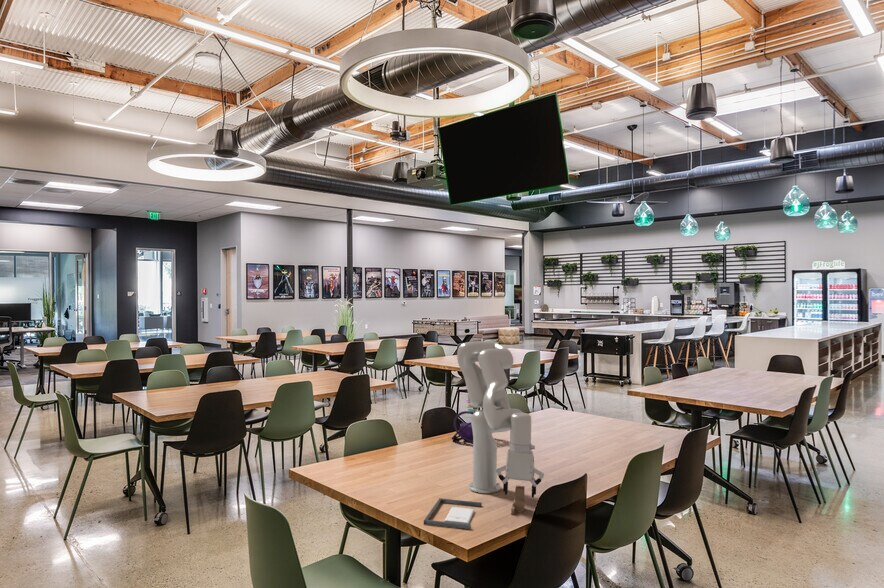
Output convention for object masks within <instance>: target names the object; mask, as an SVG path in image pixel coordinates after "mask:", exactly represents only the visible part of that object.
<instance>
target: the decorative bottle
mask: <svg viewBox="0 0 884 588" xmlns="http://www.w3.org/2000/svg"><path fill="white" fill-rule="evenodd" d="M467 398H468V400H466V403H467V404H466V409H465V410H466V411H465V410H464V411H460V412H459V413H457V414H456V415H455V417H454V419H453V428H454V430H455V432H456V433H455V434H453V436H452V437H451V440H452V441H453V440H456V439H458V438H461V439H462V440H463V441H464V440H466V441H465V442H467V441H468V443H472V444H473V430H472V424H471V421H469V422H461V423H460V426H459V429H458V428H457V420H458V418H459V417H460V416H462V415H464V414H471V415H473V414H474V413H475V412H476V411H477V410H476V409H473V408H475V407H474V406H472V404H471V402H470V399H469V395H468V394H467ZM462 419H464V418H462ZM455 438H456V439H455Z"/></svg>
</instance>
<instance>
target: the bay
mask: <svg viewBox="0 0 884 588" xmlns="http://www.w3.org/2000/svg"><path fill="white" fill-rule="evenodd" d="M441 502H442V503H441ZM449 503H453V504H452V505H459V504H462V505H461V506H468V505H469V506H471V507H480V508H481V507H482V505H483V504H482V502H481V501H480V502H478V501H469V500H460V499H452V498H451V499H449V498H438V500H437V501H436V502H435V504H434V505H433V506H432V508H431V510H430V511H429V513H428V514H427V515H426V517H425V518H424V520H423V525H426V524H428V525H427V526H429V525H430V526H435V525H437V526H436V527H443V526H447V527H446V528H452V527H456V528H455V529H460V528H467V529H466V530H469V529H472V524H470V523H469V524H460V523H451V522H444V521H440V520H433V519H431V518H432V517H433V515H434V514H435V513H436V512H437V510H438V508H439V507H440V506H441V504H449ZM439 505H440V506H439Z"/></svg>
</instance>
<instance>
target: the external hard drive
mask: <svg viewBox="0 0 884 588" xmlns="http://www.w3.org/2000/svg"><path fill="white" fill-rule="evenodd" d="M474 514H475V509H474V508H467V507H458V506H457V507H456V506H452V507H451V508H450V509H449V512H448V514H447V516H446V517H445V519H444V520H443V522H451V523H460V524H468V523H469V524H470V522H471V520H472V517H473V516H474Z"/></svg>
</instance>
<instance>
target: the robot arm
mask: <svg viewBox="0 0 884 588" xmlns="http://www.w3.org/2000/svg"><path fill="white" fill-rule="evenodd" d="M456 357H457V363H458V367H459V369H460V371H461V372H462V373H461V374H462V376H463V378H464V381H465V386H466V389H467V396H468V395H469V399H470V402H471V403H470V404H472V406H474V408H482V409H480V410H476V411H475V412H473V413H474V414H471V417H470V422H471V424H472V430H473V443H472V444H473V449H472V451H473V452H472V455H473V456H472V482H470V483H469V484H468V489H469V490H470V491H472V492H474V493H477V492H478V494H495V493H497V492H498V493H499V491H500V490H501V485H500V484H499V483H498V482H497V476H498V479H499V480H500V481H501V482H502V485H503V488H502V489H503V490H502V491H503V492H504V495H505V496H506V495H508V491H509V482H508V481H509V480H517V481H525V482H530V483H531V485H532V486H531V498H534V497H535V496H536V495H537V486H539V484H540V483H541V482H542V480H543V478H544V476H545V473H543V472H542V471H540V470H539V469H537V468H536V467H535V458H534V457H535V456H534V451H533V450H535V449H536V446H535V444H534V445H533V444H532V416H531V414H529V413H527V412H523V411H522V410H521V409H518V408H511V405H510V401H509V397H508V393H507V391H506V389H505V388H506V387H507V386H508V384H509V380H508V378H507V375H506V372H505V370H508V369H511V368H512V367H513V365H514V356H513V354H512V352H511V351H510V350H509V349H508V348H507V347H506V346H503V345H501V344H499V343H498V342H495V341H491V340H490V341H467V342H463V343H462V344H460V345H459V347H458V349H457V353H456ZM476 362H477V363H478V364H479V365H478V364H477V363H476ZM469 399H468V400H469ZM508 431H509V432H510V435H509V439H510V440H509V449H508V450H507V454H506V463H505V465H503V466H501V467H499V468H497V466H498V463H497V462H498V457H497V456H498V455H497V454H498V444H497V441H496V440H495V438H494V436H493V434H496V433H507V432H508ZM504 471H505V476H504V475H503V474H502V472H504ZM535 475H538V478H537V479H535Z"/></svg>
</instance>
